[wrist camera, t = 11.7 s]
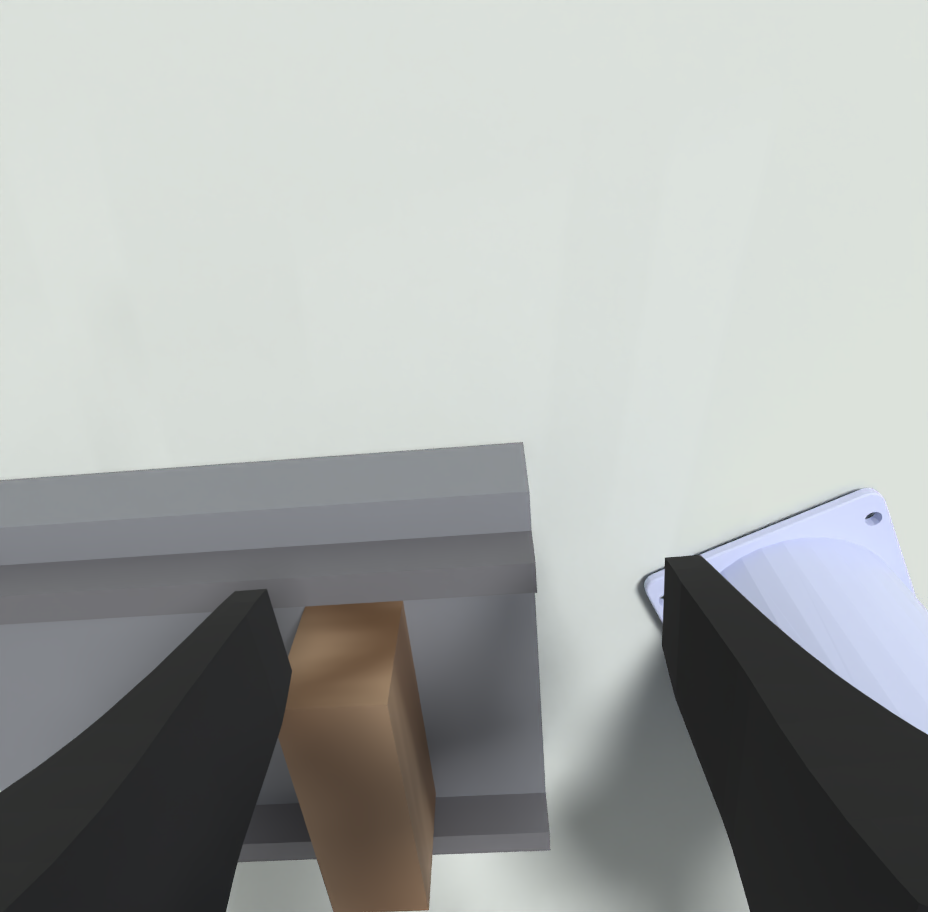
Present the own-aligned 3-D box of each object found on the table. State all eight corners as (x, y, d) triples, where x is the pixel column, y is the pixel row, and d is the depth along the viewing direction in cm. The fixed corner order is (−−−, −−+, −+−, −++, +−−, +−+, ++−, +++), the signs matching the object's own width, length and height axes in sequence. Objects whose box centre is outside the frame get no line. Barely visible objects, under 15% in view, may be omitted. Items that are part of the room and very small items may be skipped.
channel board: (522, 442, 21) (532, 521, 17) (541, 763, 28) (551, 872, 24) (-82, 486, 23) (-203, 570, 19) (78, 784, 29) (16, 891, 25)
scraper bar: (403, 599, 21) (387, 704, 17) (435, 793, 25) (429, 910, 21) (305, 605, 21) (269, 710, 17) (354, 797, 25) (334, 913, 21)
